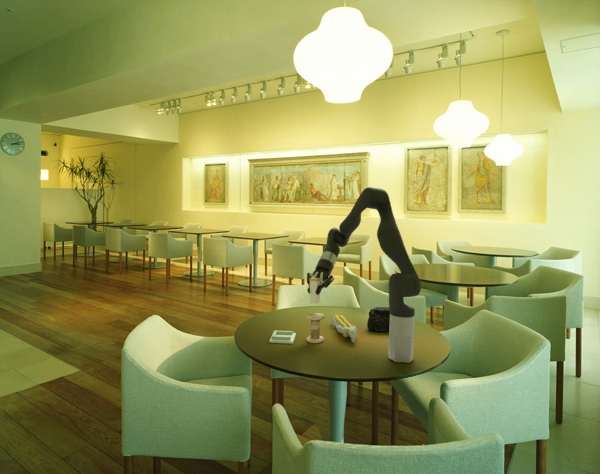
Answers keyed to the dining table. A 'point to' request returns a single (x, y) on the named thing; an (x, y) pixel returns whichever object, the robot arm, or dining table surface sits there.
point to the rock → (379, 319)
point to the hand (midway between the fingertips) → (312, 293)
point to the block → (314, 290)
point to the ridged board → (283, 337)
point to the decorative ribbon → (345, 327)
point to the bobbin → (315, 328)
